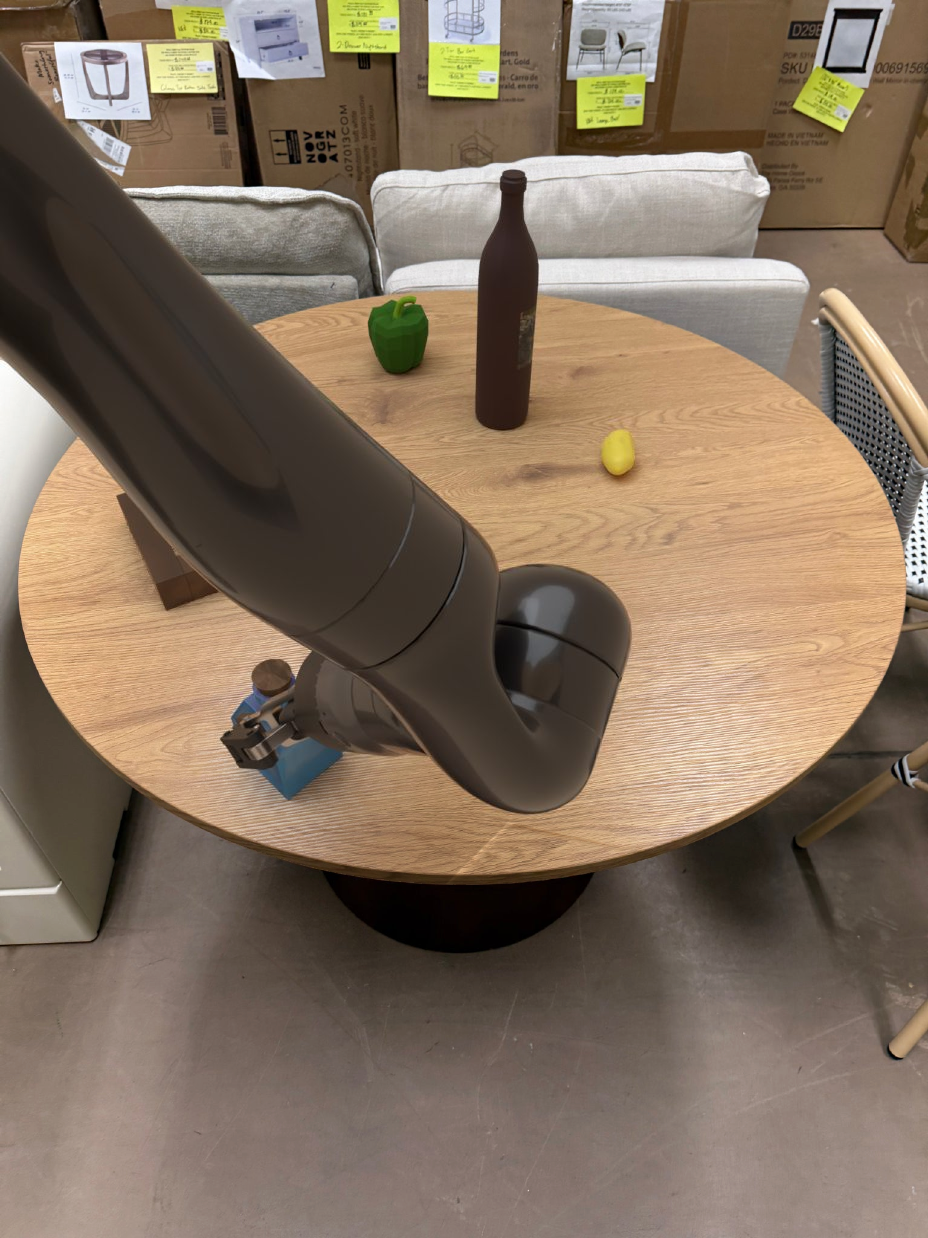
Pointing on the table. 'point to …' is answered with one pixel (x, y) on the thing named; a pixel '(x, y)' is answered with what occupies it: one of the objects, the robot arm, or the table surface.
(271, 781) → the perfume bottle
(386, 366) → the bell pepper
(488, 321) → the wine bottle
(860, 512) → the table surface
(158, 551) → the holder
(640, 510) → the table surface
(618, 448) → the lemon
